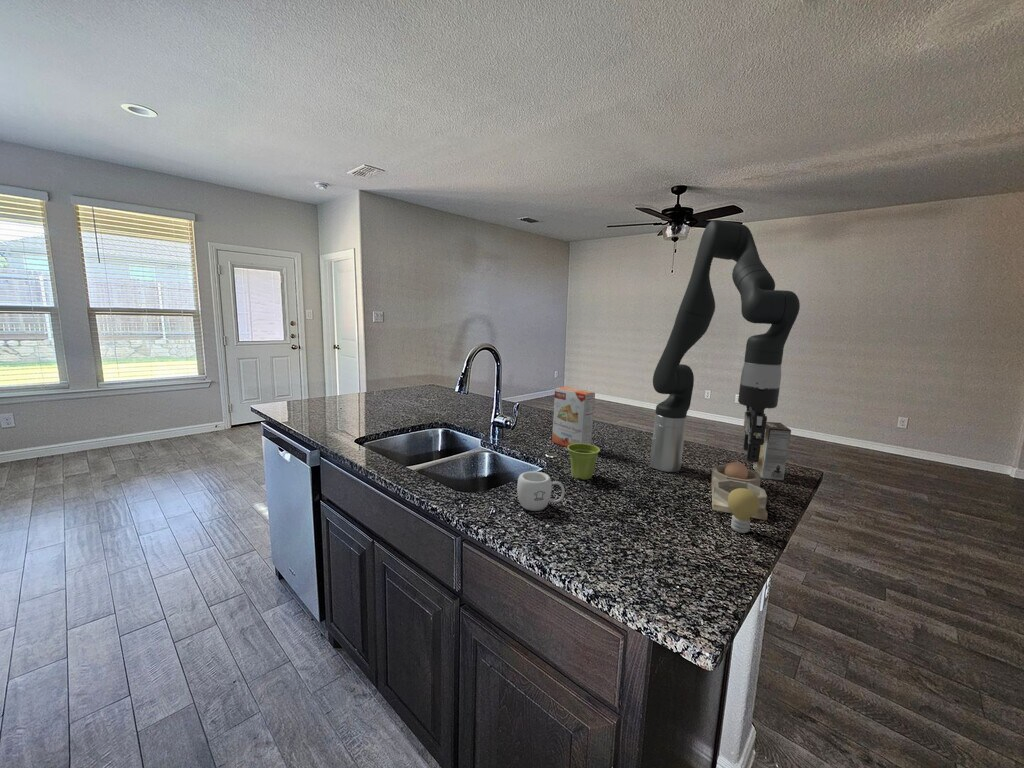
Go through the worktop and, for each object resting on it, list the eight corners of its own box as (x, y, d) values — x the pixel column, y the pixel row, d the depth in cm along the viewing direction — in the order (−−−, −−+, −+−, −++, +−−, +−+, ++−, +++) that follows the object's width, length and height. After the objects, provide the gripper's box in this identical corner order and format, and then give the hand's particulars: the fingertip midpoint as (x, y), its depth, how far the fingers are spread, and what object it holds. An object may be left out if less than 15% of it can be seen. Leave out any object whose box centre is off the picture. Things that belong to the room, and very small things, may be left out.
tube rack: (712, 509, 111) (714, 493, 110) (711, 476, 134) (712, 462, 133) (766, 520, 106) (769, 502, 105) (755, 483, 129) (757, 469, 129)
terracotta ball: (723, 483, 124) (726, 463, 123) (722, 477, 130) (725, 457, 129) (747, 488, 122) (750, 467, 121) (745, 480, 127) (748, 461, 126)
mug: (519, 514, 104) (520, 483, 102) (513, 499, 112) (515, 470, 111) (568, 513, 105) (570, 482, 104) (559, 498, 114) (561, 469, 112)
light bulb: (718, 523, 103) (723, 483, 101) (744, 523, 104) (749, 483, 102) (734, 537, 97) (740, 495, 95) (761, 537, 97) (767, 495, 96)
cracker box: (550, 442, 161) (554, 387, 158) (561, 440, 166) (565, 385, 162) (580, 452, 151) (585, 393, 148) (591, 449, 155) (595, 391, 152)
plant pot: (576, 484, 124) (578, 454, 122) (559, 472, 132) (561, 444, 131) (604, 480, 127) (606, 451, 126) (586, 468, 136) (587, 442, 134)
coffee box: (751, 468, 143) (758, 420, 140) (773, 470, 142) (780, 422, 139) (761, 478, 134) (769, 427, 131) (784, 480, 133) (792, 429, 130)
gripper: (738, 378, 103) (729, 444, 105) (743, 386, 90) (733, 462, 92) (774, 381, 100) (765, 449, 102) (785, 390, 87) (774, 468, 89)
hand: (750, 455), depth 97 cm, fingers open, 8 cm apart
